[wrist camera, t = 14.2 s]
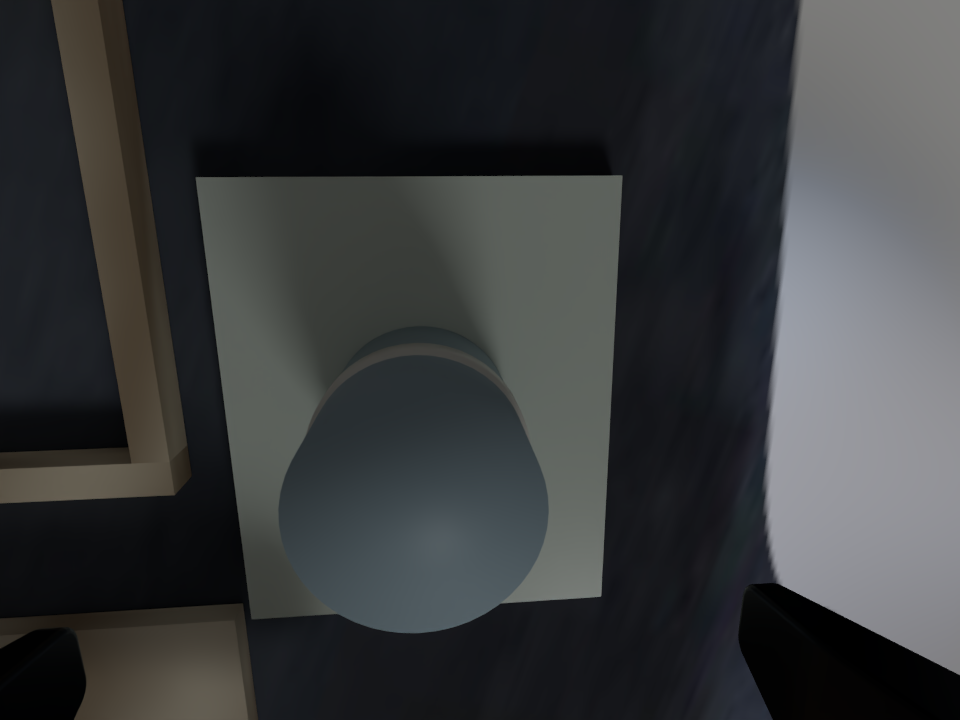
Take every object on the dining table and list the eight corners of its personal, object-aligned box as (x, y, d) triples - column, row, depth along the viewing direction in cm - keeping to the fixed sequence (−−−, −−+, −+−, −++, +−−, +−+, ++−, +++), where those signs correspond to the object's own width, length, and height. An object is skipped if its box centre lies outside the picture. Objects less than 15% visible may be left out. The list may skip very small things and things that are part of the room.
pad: (258, 602, 18) (251, 619, 18) (207, 178, 15) (195, 177, 14) (593, 581, 19) (601, 596, 19) (612, 177, 16) (622, 175, 15)
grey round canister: (335, 498, 17) (285, 645, 11) (322, 324, 16) (259, 388, 10) (510, 490, 17) (550, 628, 12) (512, 320, 16) (557, 380, 10)
